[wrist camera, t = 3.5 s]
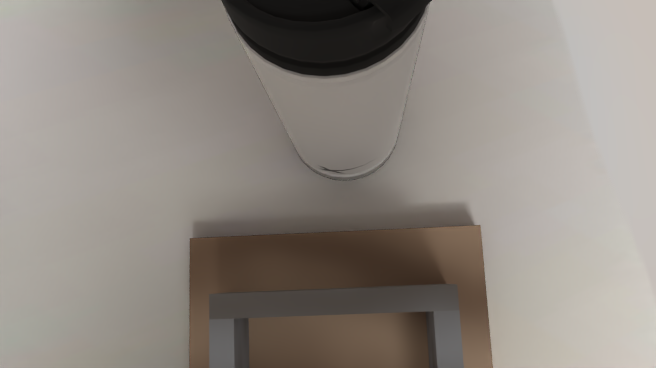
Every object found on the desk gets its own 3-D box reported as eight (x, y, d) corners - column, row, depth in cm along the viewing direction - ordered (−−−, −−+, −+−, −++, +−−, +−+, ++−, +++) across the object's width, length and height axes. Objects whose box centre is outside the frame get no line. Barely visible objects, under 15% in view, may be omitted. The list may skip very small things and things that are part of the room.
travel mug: (348, 207, 32) (323, 91, 12) (270, 128, 33) (134, -93, 13) (424, 133, 32) (519, -94, 13) (345, 57, 34) (320, -257, 14)
